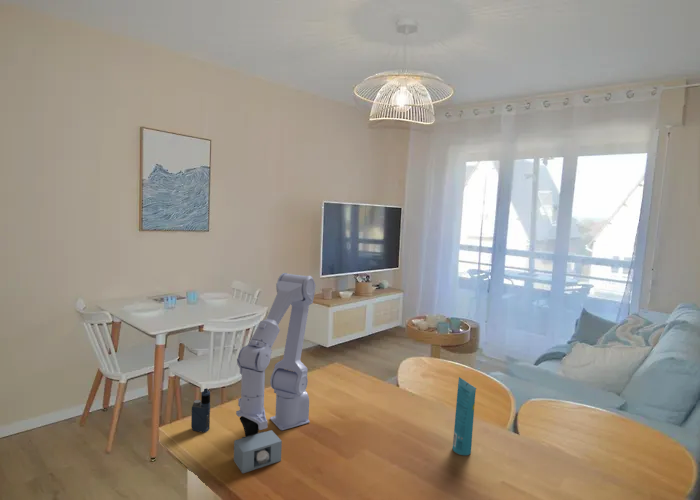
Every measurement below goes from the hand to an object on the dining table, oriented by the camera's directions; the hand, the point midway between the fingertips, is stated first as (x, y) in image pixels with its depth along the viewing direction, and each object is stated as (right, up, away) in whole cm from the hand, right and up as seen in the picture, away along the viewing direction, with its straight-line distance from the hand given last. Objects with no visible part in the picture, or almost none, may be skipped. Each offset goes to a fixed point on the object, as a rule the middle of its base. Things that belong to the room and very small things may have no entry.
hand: (251, 443), depth 106 cm
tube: (+56, -5, +6) cm, 56 cm away
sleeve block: (+2, -3, -3) cm, 5 cm away
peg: (+2, -2, -3) cm, 5 cm away
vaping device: (-17, -1, +10) cm, 19 cm away
